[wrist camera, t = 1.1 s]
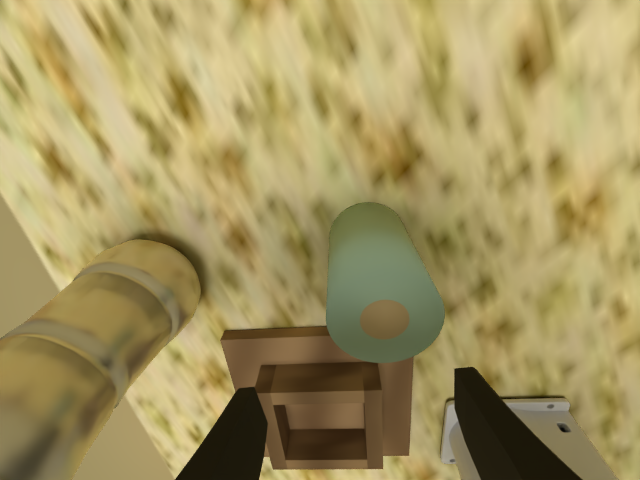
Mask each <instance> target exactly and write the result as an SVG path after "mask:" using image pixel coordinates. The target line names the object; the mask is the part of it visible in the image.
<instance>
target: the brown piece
mask: <svg viewBox="0 0 640 480" xmlns="http://www.w3.org/2000/svg"><path fill="white" fill-rule="evenodd" d="M220 341H221V344H222V348H223V351H224V354H225V358H226V361H227V365H228V368H229V371H230V375H231V378H232V381H233V385H234V388H235V392H236V391H237V390H238V388H245V387H255V390H256V392H257V395H258V398H259V400H260V403H261V406H262V408H263V411H264V414H265V416H266V419H267V422H268V427H267V436H266V445H265V453H264V457H270V460H271V464H272V467H273V469H383V456H409V446H410V423H411V400H412V377H413V357H410V358H408V359H405V360H401V361H397V362H391V363H374V362H368V361H363V360H360V359H357V358H355V357H353V356H351V355H349V354H347V353H346V352H344V351H343V350H342V349H340V348H339V347H338V346H337V345H336V343H335V342H334V341H333V340H332V338H331V336H330V334H329V332H328V329H327V327H303V328H279V329H256V330H232V331H224V333H223V336H222V338H221V340H220Z"/></svg>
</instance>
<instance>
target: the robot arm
mask: <svg viewBox="0 0 640 480" xmlns="http://www.w3.org/2000/svg"><path fill="white" fill-rule="evenodd" d="M569 407H570V403H569V402H568V400H567V399H565V398H540V399H501V398H500V397H499V396H498V395H497V393H496V392H495V391H494V390H493V389H492V388H491V387H490V385H489V384H488V383H487V382H486V381H485V379H484V378H483V377H482V376H481V375H480V373H479V372H478V371H477V370H476V369H475V368H474V367H467V368H456V369H455V383H454V400H452V401H449V402H447V403H446V408H445V417H444V426H443V435H442V444H441V453H440V458H441V462H442V463H444V464H457V467H458V470H459V473H460V476H461V480H619V479H618V478H617V477H616V475H615V474H614V473H613V471H612V470H611V469H610V467H609V466H608V464H607V463H606V462H605V460H604V459H603V458H602V456H601V455H600V454H599V452H598V451H597V449H596V448H595V447H594V445H593V444H592V443H591V441H590V440H589V439H588V437H587V436H586V434H585V433H584V432H583V430H582V429H581V428H580V426H579V425H578V424H577V422H576V421H575V419H574V418H573V417H572V415H571V414H570V413H569V411H568V410H569ZM267 427H268V422H267V419H266V416H265V414H264V411H263V408H262V406H261V403H260V400H259V398H258V395H257V392H256V390H255V387H245V388H238V390H237V391H236V392H235V394H234V396H233V397H232V399H231V400H230V402H229V403H228V405H227V406H226V408H225V409H224V411H223V413H222V414H221V416H220V417H219V419H218V420H217V422H216V423H215V425H214V426H213V428H212V429H211V431H210V432H209V433H208V435H207V436H206V438H205V439H204V441H203V442H202V444H201V445H200V447H199V448H198V449H197V451H196V452H195V454H194V455H193V456H192V458H191V459H190V460H189V462H188V463H187V464H186V466H185V467H184V468H183V470H182V471H181V472H180V474H179V475H178V476H177V478H176V479H175V480H259V477H260V472H261V467H262V463H263V458H264V453H265V445H266V436H267Z"/></svg>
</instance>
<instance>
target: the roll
mask: <svg viewBox="0 0 640 480" xmlns="http://www.w3.org/2000/svg"><path fill="white" fill-rule="evenodd" d="M444 317H445V310H444V304H443V302H442V299H441V297H440V295H439V293H438V291H437V289H436V287H435V285H434V283H433V281H432V279H431V277H430V275H429V274H428V272H427V270H426V268H425V266H424V264H423V262H422V260H421V258H420V256H419V254H418V252H417V250H416V248H415V246H414V245H413V243H412V241H411V239H410V237H409V235H408V233H407V231H406V229H405V227H404V225H403V223H402V221H401V220H400V218H399V217H398V215H397V214H396V213H395V212H394V211H392V210H391V209H390V208H388V207H386V206H384V205H381V204H377V203H360V204H356V205H353V206H351V207H349V208H347V209H346V210H344V211H343V212H342V213H341V214H340V215H339V216H338V217H337V218H336V219H335V221H334V223H333V225H332V227H331V230H330V237H329V260H328V282H327V305H326V324H327V329H328V332H329V334H330V336H331V338H332V340H333V341H334V342H335V343H336V345H337V346H338V347H339V348H340V349H342V350H343V351H344V352H346V353H347V354H349V355H351V356H353V357H355V358H357V359H360V360H363V361H368V362H374V363H391V362H397V361H401V360H405V359H408V358H410V357H413V356H415V355H417V354H419V353H420V352H422V351H423V350H425V349H426V348H427V347H428V346H430V345H431V344H432V343H433V341H434V340H435V339H436V338H437V336H438V335H439V333H440V331H441V329H442V326H443V323H444Z"/></svg>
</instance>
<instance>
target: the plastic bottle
mask: <svg viewBox="0 0 640 480" xmlns="http://www.w3.org/2000/svg"><path fill="white" fill-rule="evenodd" d="M200 295H201V287H200V282H199V278H198V276H197V273H196V271H195V269H194V267H193V265H192V264H191V262H190V261H189V260H188V259H187V258H186V257H185V256H184V255H183V254H182V253H180V252H179V251H178V250H176V249H174V248H173V247H171V246H169V245H166V244H163V243H160V242H155V241H151V240H141V239H137V240H130V241H127V242H124V243H122V244H119V245H117V246H114V247H112V248H109V249H106V250H104V251H103V252H101V253H100V254H99V255H97V256H96V257H95V258H94V259H93V260H92V261H91V262H90V263H89V264H88V265H86V266H85V267H84V268H83V269H82V271H81V272H80V273H79V274H78V275H77V276H76V278H75V279H74V280H73V282H72V283H71V284H69V285H68V286H67V287H66V288H65V289H63V290H62V291H61V292H60V293H59V294H58V295H57V296H55V297H54V298H53V299H52V300H50V301H49V302H48V303H47V304H46V305H45V306H43V307H42V308H41V309H40V310H39V311H38V312H36V313H35V314H34V315H33V316H32V317H30V318H29V319H28V320H27V321H26V322H24V323H23V324H21V325H20V326H18V327H16V328H15V329H14V330H12V331H10V332H9V333H7V334H6V335H5V336H3V337H2V338H0V480H72V479H73V477H74V475H75V473H76V472H77V470H78V468H79V466H80V464H81V463H82V461H83V458H84V457H85V455H86V453H87V452H88V450H89V449H90V447H91V446H92V444H93V442H94V441H95V439H96V438H97V436H98V435H99V433H100V432H101V430H102V429H103V427H104V426H105V424H106V422H107V421H108V419H109V418H110V416H111V414H112V412H113V409H114V408H116V407H117V405H118V404H119V402H120V401H121V399H122V398H123V396H124V395H125V393H126V392H127V390H128V388H129V387H130V386H131V385H132V384H133V383H134V381H135V380H136V379H137V378H138V377H139V375H140V374H141V373H142V372H143V371H144V370H145V368H146V367H147V366H148V365H149V364H150V362H151V361H152V360H153V359H154V358H155V357H156V355H157V354H158V353H159V352H160V351H161V349H162V348H163V347H165V346H166V345H167V344H168V343H169V342H170V341H171V340H173V339H174V338H175V337H176V336H177V335H178V334H179V333H180V332H181V331H182V330H183V328H184V327H185V326H186V325H187V324H188V323H189V322H190V320H191V319H192V317H193V315H194V313H195V310H196V307H197V305H198V302H199V299H200Z"/></svg>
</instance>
